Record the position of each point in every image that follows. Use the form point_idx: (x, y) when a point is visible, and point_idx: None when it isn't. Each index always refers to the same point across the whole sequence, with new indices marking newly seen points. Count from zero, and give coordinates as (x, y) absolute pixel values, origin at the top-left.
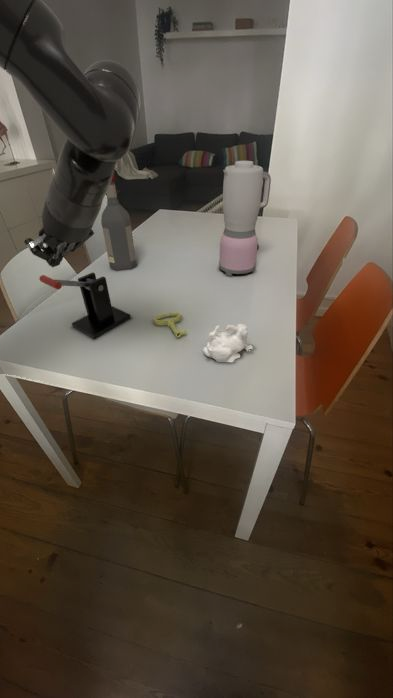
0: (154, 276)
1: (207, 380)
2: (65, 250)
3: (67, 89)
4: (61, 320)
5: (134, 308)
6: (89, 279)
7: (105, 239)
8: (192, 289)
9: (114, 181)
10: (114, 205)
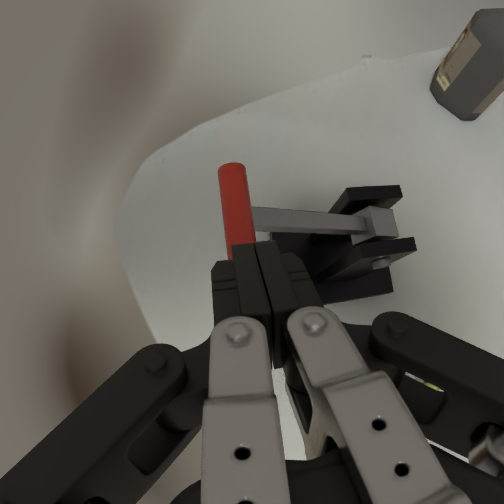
0: (488, 179)
1: None
2: (307, 457)
3: None
4: (261, 178)
5: (414, 260)
6: (374, 219)
7: (460, 49)
8: None
9: None
10: None
